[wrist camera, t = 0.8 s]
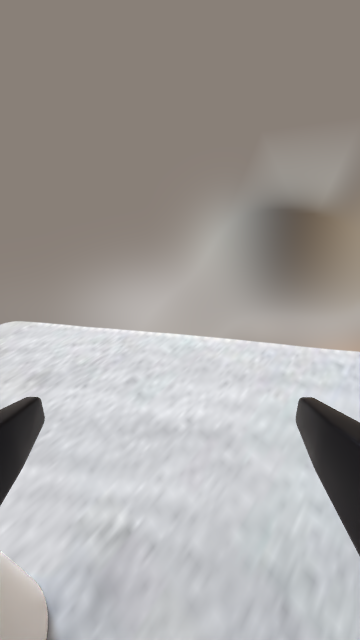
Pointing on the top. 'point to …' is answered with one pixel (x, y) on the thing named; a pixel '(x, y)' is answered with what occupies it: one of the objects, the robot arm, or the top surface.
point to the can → (20, 604)
